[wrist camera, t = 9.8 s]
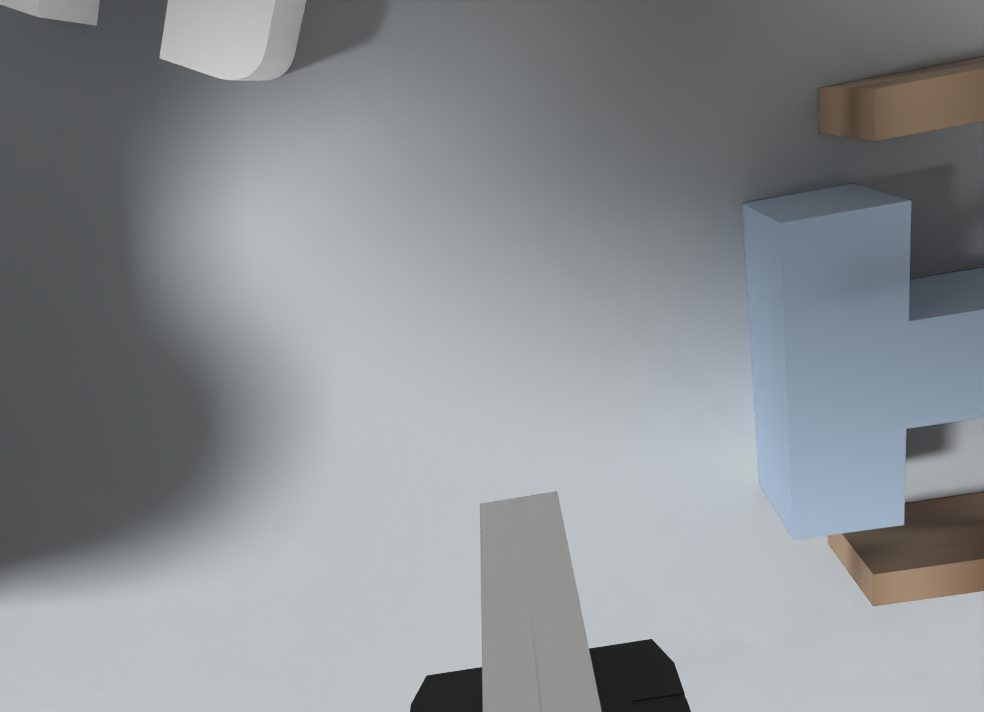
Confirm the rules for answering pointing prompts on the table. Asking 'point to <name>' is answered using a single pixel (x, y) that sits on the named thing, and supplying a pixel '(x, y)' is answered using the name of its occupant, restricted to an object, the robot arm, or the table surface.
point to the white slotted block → (207, 33)
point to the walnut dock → (939, 522)
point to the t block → (851, 354)
